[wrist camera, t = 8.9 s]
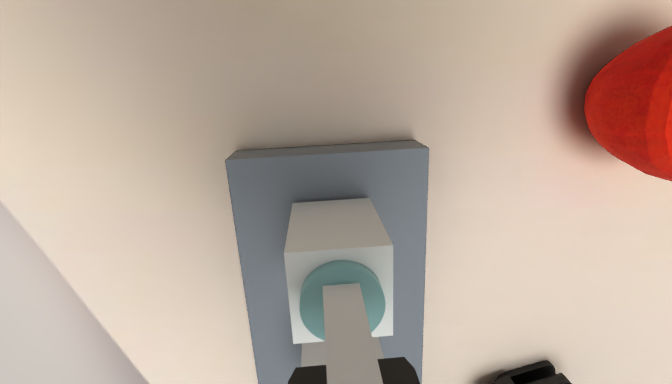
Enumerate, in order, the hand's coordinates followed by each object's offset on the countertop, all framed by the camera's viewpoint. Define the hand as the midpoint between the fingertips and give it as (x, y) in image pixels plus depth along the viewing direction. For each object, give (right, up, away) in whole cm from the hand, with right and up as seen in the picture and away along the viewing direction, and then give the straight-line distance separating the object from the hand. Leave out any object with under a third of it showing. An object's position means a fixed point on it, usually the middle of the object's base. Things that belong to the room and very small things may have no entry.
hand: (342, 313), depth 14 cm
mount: (0, -4, +13) cm, 14 cm away
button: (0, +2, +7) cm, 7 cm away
